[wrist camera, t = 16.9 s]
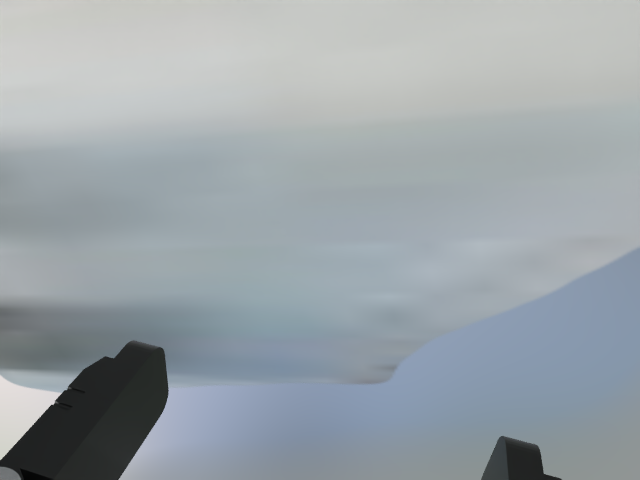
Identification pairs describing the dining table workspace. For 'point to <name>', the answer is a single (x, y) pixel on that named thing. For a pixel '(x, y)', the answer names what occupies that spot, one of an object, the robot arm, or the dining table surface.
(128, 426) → the robot arm
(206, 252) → the dining table surface
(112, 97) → the dining table surface
